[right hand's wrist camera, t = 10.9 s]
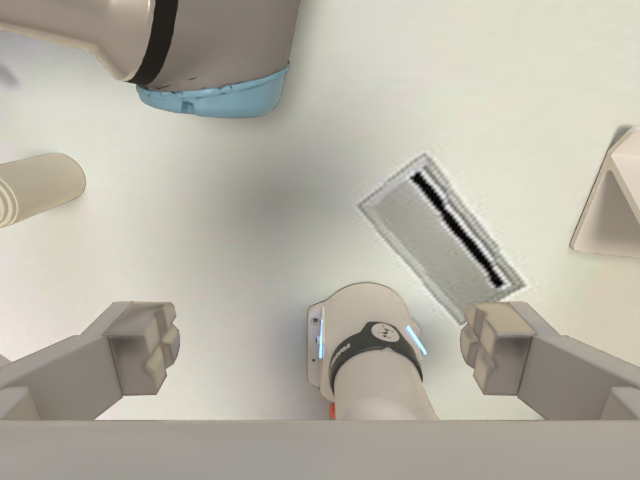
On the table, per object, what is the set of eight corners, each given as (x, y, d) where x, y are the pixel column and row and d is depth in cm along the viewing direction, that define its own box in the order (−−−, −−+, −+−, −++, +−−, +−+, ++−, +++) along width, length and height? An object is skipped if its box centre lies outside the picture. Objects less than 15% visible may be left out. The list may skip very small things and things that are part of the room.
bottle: (57, 206, 52) (-59, 255, 36) (27, 164, 50) (-112, 196, 34) (95, 188, 51) (-8, 231, 35) (66, 145, 49) (-58, 168, 33)
